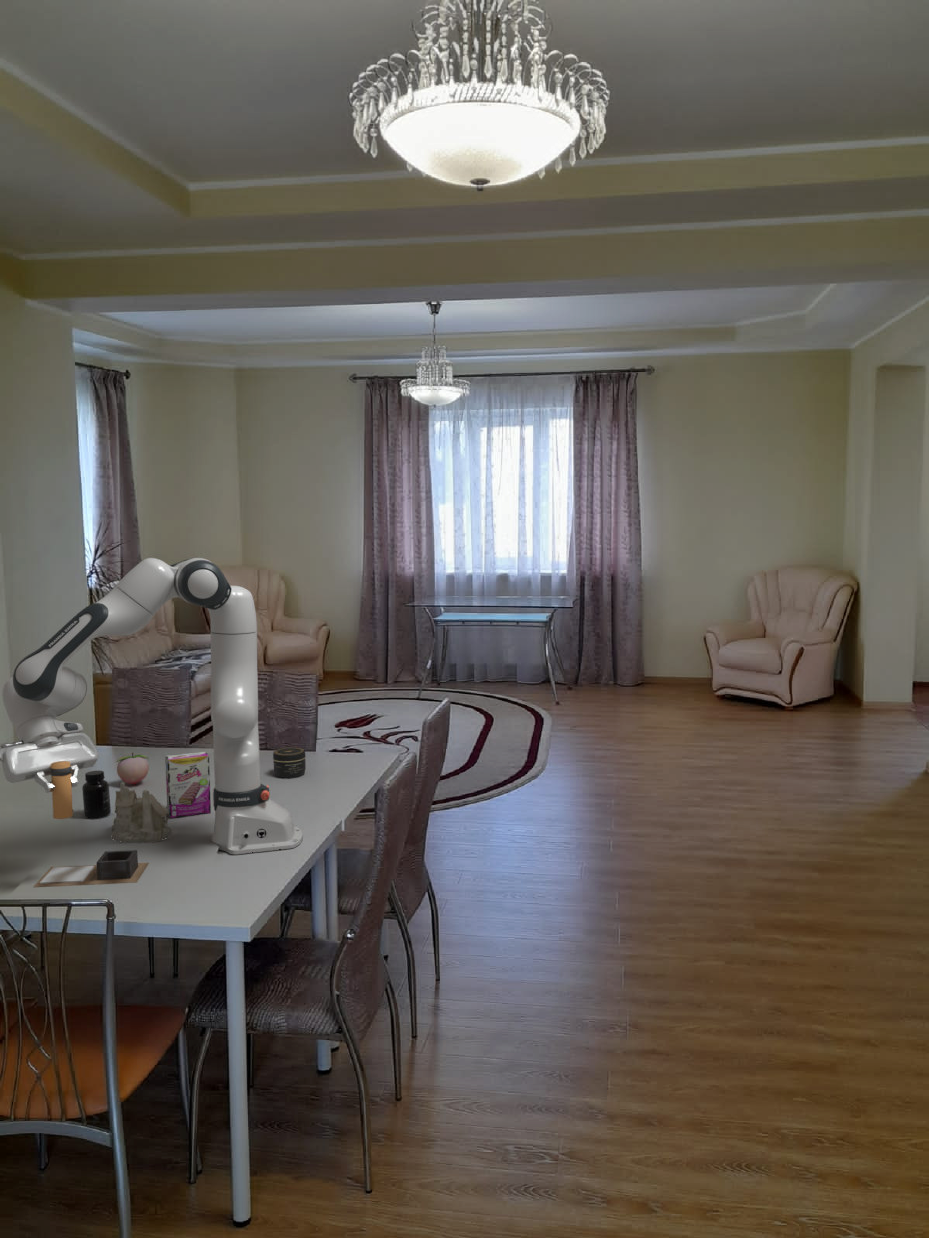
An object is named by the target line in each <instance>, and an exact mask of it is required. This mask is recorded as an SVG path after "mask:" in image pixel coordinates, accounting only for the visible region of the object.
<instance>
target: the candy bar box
mask: <svg viewBox="0 0 929 1238" xmlns="http://www.w3.org/2000/svg"><path fill="white" fill-rule="evenodd" d="M209 755H210V754H208V753H207V752H206V751H200V752H191V753H180V754H172V755H171V754H170V755H165V757H164V758H165V759H164V760H165V783H166V785H165V787H166V809H167V810H168V813H167V816H168V818H169V819H176V818H183V817H190V816H196V815H197V816H198V815H205V814H211V811H212V809H211V808H212V806H211V805H212V804H211V781H210V780H211V779H210V778H211V777H210V776H211V775H210V774H211V773H210V756H209Z"/></svg>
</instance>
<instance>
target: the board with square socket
mask: <svg viewBox="0 0 929 1238" xmlns="http://www.w3.org/2000/svg"><path fill="white" fill-rule="evenodd" d="M149 864H150V862H139V856H138V849H131V850H130V849H129V850H128V849H127V850H126V849H125V850H108V851H107V850H106V851H104V852H103V854H102V855H101V856H100V857H99V858H98V860H97V861H96V863H95V864H93V865H91V864H90V865H87V864H86V865H69V866H68V865H67V866H50V867H49V869H47V871H46V872H45V873H44V874H43V875H42V877H40V879H38V881H37V882H36V883H35V884H34V885H33V888H49V887H73V886H89V885H91V886H93V885H94V886H95V885H113V884H114V885H115V884H135V883H138V881H139V880H140V878H141V877H142V875H143V874H144V873H145V871H146V869H147V867H148V866H149Z"/></svg>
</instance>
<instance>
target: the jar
mask: <svg viewBox="0 0 929 1238" xmlns="http://www.w3.org/2000/svg"><path fill="white" fill-rule="evenodd" d="M306 758H307V757H306V751H305V749H304V748H302V747H282V748H279V749H276V750H274V751H273V752H272V761H273V762H272V763H273V772H274V775H275V777H277V778H278V777H279V779H284V780H285V779H288V780H289V779H296V778H299V777H300V778H301V777H302V776H304V774H306V770H307V769H306V764H307V763H306Z"/></svg>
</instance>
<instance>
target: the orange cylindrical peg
mask: <svg viewBox="0 0 929 1238" xmlns="http://www.w3.org/2000/svg"><path fill="white" fill-rule="evenodd" d="M71 777H72V775H71V765H70V762H68V761H59V762H54V763H52V764H51V775H50V779H51V780H50V781H53V783H54V784H53V785H54V786H55V789H54V791H53V792H51V795H52V797H51V798H52V817H53V819H55V820H66V819H70V818H72V817H73V816H74V815H73V814H74V812H73V810H74V809H73V790H72V788H73V787H71Z"/></svg>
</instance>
